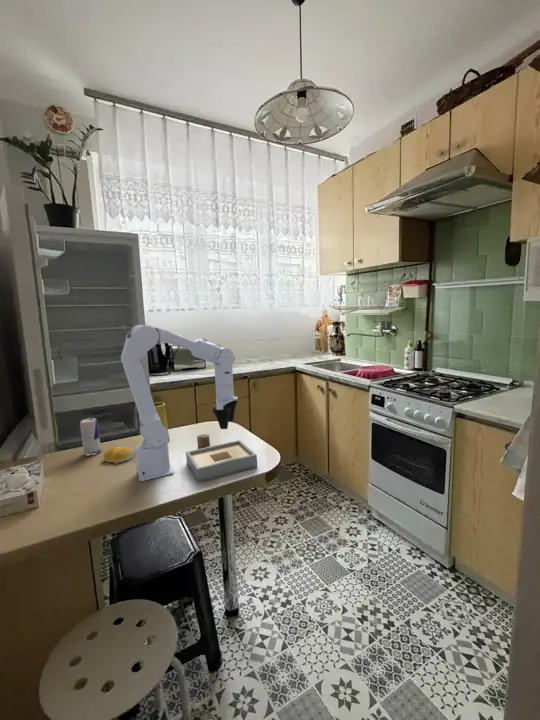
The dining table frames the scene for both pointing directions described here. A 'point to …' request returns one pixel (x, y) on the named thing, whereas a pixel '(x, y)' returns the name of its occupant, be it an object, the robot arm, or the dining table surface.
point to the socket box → (220, 460)
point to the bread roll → (118, 454)
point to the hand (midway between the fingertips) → (227, 424)
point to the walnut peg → (203, 441)
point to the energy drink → (90, 435)
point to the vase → (162, 414)
